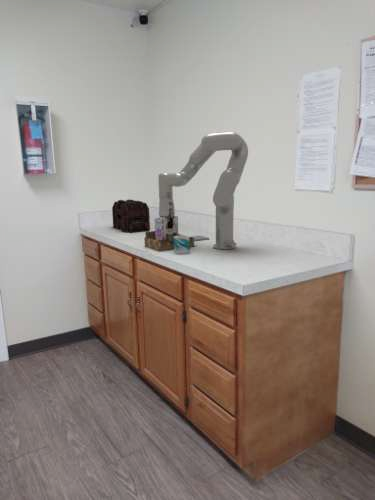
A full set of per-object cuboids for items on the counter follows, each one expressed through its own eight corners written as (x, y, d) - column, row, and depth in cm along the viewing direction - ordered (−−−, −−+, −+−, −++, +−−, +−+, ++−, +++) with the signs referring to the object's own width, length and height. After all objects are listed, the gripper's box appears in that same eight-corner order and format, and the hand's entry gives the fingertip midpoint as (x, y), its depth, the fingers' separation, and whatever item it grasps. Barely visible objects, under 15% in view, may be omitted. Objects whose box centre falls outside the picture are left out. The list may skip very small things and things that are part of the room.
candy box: (163, 248, 218) (162, 218, 214) (155, 247, 221) (154, 217, 218) (179, 244, 228) (178, 215, 225) (171, 243, 232) (170, 215, 228)
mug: (177, 254, 201) (177, 238, 199) (169, 250, 212) (168, 235, 210) (192, 253, 204) (192, 237, 202) (183, 249, 215) (182, 233, 213)
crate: (111, 227, 301) (109, 199, 297) (134, 225, 310) (133, 198, 306) (127, 233, 271) (125, 203, 267) (152, 231, 280) (151, 201, 275)
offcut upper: (183, 242, 217) (182, 235, 217) (170, 243, 213) (169, 237, 213) (180, 241, 220) (180, 235, 219) (167, 242, 216) (167, 236, 215)
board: (209, 239, 242) (209, 237, 242) (182, 242, 233) (182, 241, 232) (199, 237, 252) (199, 235, 251) (173, 240, 242) (173, 238, 242)
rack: (194, 246, 221) (194, 232, 219) (159, 251, 210) (159, 236, 208) (177, 242, 236) (177, 228, 234) (144, 246, 225) (144, 232, 223)
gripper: (179, 196, 214) (180, 228, 217) (164, 194, 228) (165, 225, 232) (167, 197, 210) (168, 230, 213) (152, 195, 224) (153, 226, 228)
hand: (166, 227), depth 223 cm, fingers closed on candy box, 7 cm apart
